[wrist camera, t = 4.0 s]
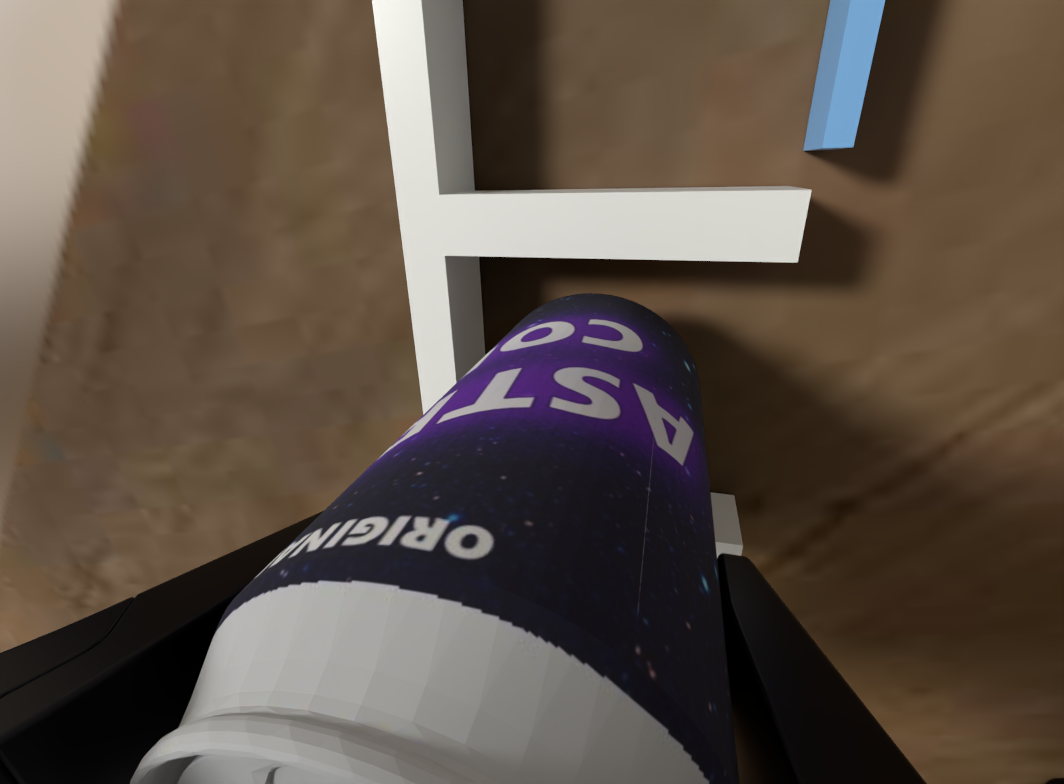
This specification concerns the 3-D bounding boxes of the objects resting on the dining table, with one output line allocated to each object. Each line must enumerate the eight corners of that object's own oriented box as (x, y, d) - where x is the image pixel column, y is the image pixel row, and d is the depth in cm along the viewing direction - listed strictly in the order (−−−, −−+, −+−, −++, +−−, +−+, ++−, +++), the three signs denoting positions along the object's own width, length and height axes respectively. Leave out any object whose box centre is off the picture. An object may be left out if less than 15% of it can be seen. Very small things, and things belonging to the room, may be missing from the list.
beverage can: (728, 313, 13) (966, 1000, 2) (665, 487, 15) (635, 1195, 5) (520, 265, 14) (-7, 588, 3) (493, 436, 16) (149, 935, 6)
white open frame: (933, -368, 9) (1020, -547, 7) (755, 523, 17) (767, 577, 14) (397, -235, 11) (330, -331, 9) (464, 482, 19) (436, 523, 17)
